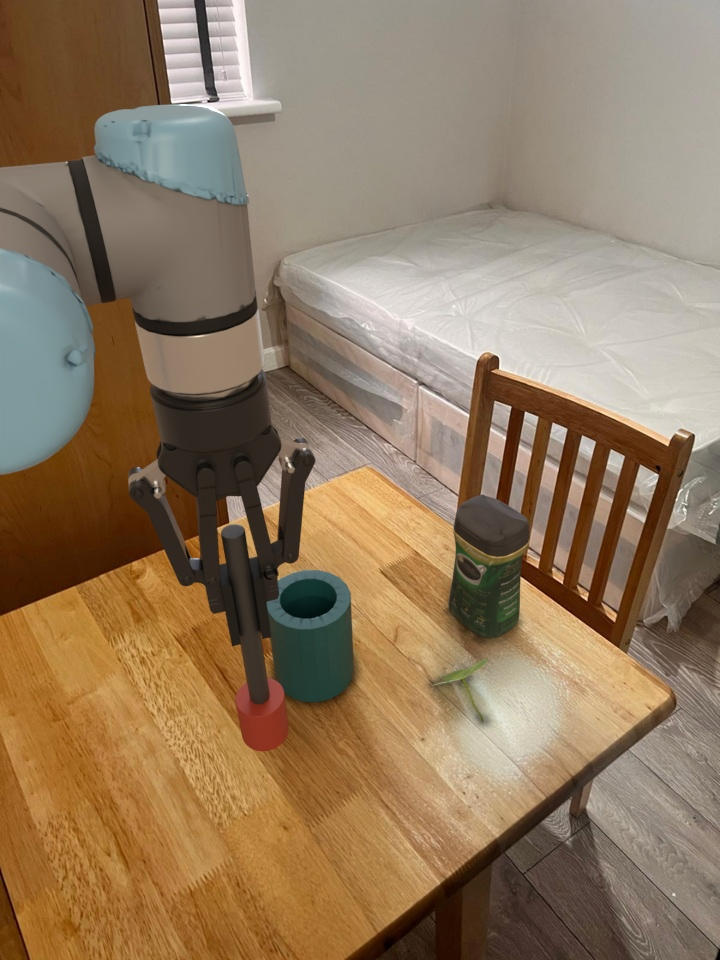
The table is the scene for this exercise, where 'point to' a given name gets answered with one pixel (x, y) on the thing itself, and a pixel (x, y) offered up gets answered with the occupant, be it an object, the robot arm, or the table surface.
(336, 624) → the cup
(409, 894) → the table surface
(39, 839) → the table surface
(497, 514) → the coffee jar
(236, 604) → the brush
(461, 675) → the seedling
